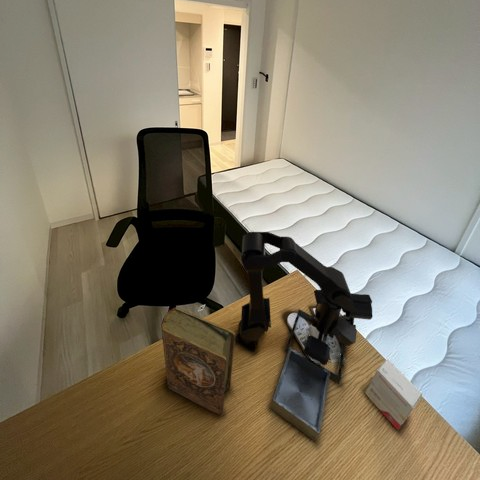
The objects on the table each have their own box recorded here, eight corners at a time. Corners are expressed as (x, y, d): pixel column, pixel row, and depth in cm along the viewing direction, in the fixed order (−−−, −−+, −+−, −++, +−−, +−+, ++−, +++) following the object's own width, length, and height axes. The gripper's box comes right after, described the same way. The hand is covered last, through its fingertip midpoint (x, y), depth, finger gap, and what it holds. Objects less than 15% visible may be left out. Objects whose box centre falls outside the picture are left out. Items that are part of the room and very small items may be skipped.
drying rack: (284, 351, 73) (286, 343, 71) (297, 312, 84) (299, 305, 82) (338, 384, 67) (342, 376, 65) (345, 338, 78) (348, 330, 76)
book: (164, 385, 64) (157, 327, 53) (175, 362, 68) (171, 305, 58) (221, 416, 59) (226, 359, 49) (229, 389, 64) (236, 332, 53)
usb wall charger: (320, 333, 78) (323, 326, 77) (324, 358, 72) (327, 350, 70) (307, 331, 79) (310, 324, 77) (311, 356, 72) (313, 348, 71)
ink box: (406, 417, 62) (425, 394, 57) (396, 432, 59) (415, 409, 54) (373, 380, 68) (387, 357, 63) (363, 392, 65) (377, 369, 60)
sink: (270, 408, 61) (272, 399, 59) (287, 355, 72) (289, 346, 70) (315, 441, 56) (319, 433, 55) (326, 380, 67) (330, 371, 65)
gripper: (355, 360, 57) (339, 393, 64) (361, 297, 72) (348, 329, 79) (308, 334, 62) (298, 367, 69) (323, 280, 77) (313, 311, 84)
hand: (316, 342), depth 75 cm, fingers closed on usb wall charger, 7 cm apart
